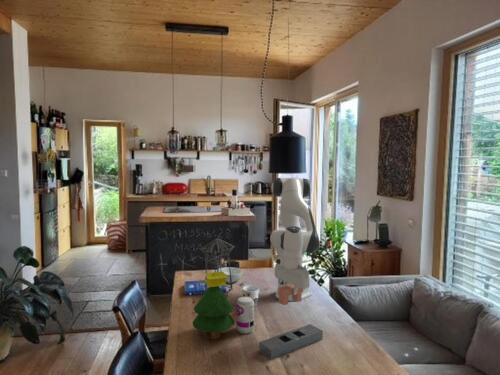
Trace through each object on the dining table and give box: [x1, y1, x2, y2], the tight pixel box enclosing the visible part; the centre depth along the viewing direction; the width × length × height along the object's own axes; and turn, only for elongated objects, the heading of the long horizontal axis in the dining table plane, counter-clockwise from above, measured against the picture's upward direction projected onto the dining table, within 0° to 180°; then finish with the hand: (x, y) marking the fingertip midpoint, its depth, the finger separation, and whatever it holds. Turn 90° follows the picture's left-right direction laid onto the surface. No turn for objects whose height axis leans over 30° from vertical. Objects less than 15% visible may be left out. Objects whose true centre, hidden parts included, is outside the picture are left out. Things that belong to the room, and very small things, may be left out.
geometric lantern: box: [200, 237, 235, 298], centre depth 214 cm, size 16×16×35 cm
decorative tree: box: [191, 271, 235, 340], centre depth 168 cm, size 19×19×30 cm
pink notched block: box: [278, 285, 303, 306], centre depth 168 cm, size 12×4×7 cm, turn 125°
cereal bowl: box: [219, 266, 243, 284], centre depth 244 cm, size 17×17×7 cm
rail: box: [258, 323, 324, 360], centre depth 161 cm, size 30×8×4 cm, turn 125°
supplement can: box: [236, 296, 255, 334], centre depth 174 cm, size 8×8×15 cm
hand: (290, 292), depth 168 cm, fingers closed on pink notched block, 3 cm apart
